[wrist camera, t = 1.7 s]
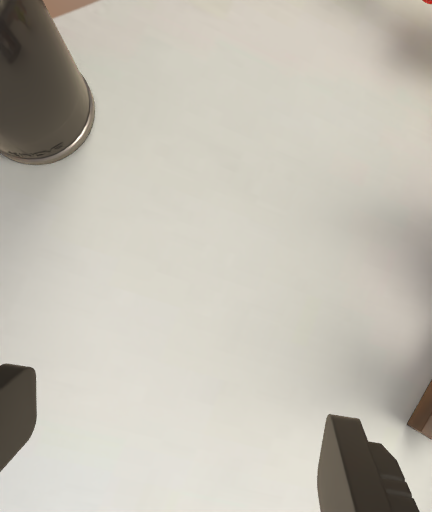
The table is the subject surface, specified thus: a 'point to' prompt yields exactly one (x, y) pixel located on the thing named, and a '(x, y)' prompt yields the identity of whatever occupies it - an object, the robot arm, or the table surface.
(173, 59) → the table surface
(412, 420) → the spice rack
